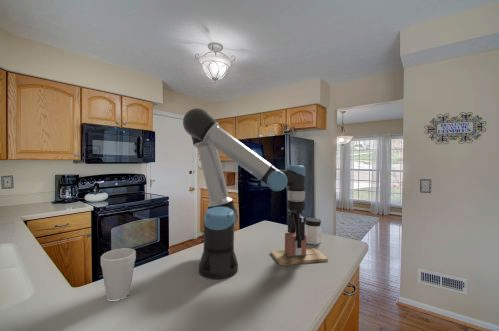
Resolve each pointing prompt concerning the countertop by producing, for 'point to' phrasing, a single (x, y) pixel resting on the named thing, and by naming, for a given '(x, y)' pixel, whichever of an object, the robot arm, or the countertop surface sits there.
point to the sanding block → (293, 245)
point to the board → (310, 257)
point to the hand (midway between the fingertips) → (295, 252)
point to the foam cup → (118, 272)
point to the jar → (313, 230)
